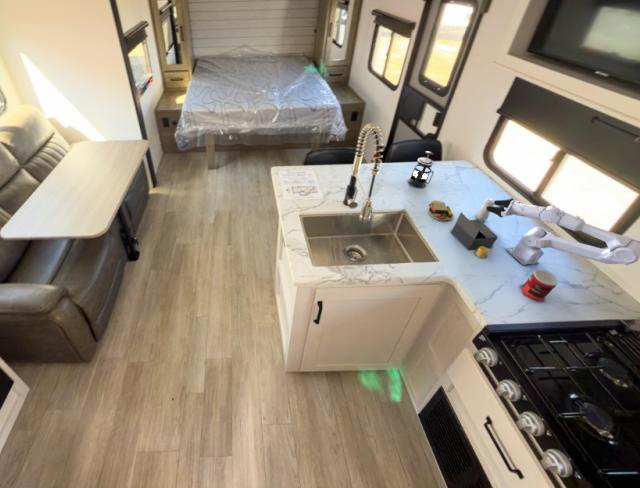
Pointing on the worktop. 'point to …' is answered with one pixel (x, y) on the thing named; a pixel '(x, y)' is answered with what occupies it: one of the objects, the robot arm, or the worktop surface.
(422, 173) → the french press
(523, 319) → the worktop surface
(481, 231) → the grey hinged lid box
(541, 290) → the canned food
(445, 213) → the toy sandwich meal
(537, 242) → the robot arm
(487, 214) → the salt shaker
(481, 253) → the yellow small lump
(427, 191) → the worktop surface
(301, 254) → the worktop surface
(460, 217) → the filter lid
